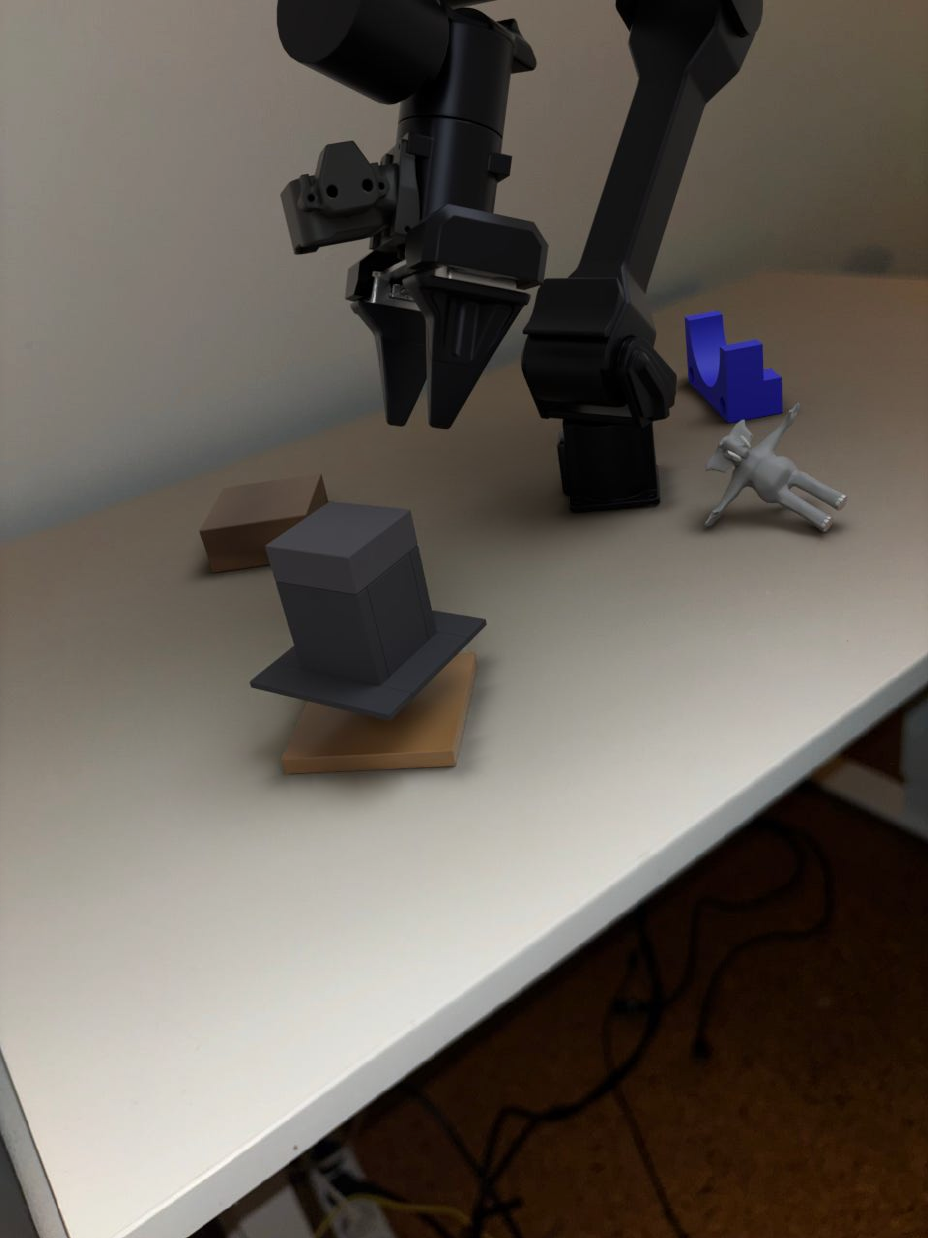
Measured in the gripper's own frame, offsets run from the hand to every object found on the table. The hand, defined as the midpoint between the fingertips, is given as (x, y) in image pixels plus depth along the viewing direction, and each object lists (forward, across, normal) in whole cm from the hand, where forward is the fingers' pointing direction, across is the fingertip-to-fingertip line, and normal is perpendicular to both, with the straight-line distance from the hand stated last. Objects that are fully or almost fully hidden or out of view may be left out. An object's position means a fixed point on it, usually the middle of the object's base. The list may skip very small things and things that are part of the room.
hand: (415, 426), depth 58 cm
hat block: (+10, -22, -4) cm, 25 cm away
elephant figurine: (+2, -2, +26) cm, 27 cm away
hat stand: (+16, +5, -1) cm, 16 cm away
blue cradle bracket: (-6, -23, +34) cm, 42 cm away
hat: (+12, +6, -2) cm, 14 cm away
